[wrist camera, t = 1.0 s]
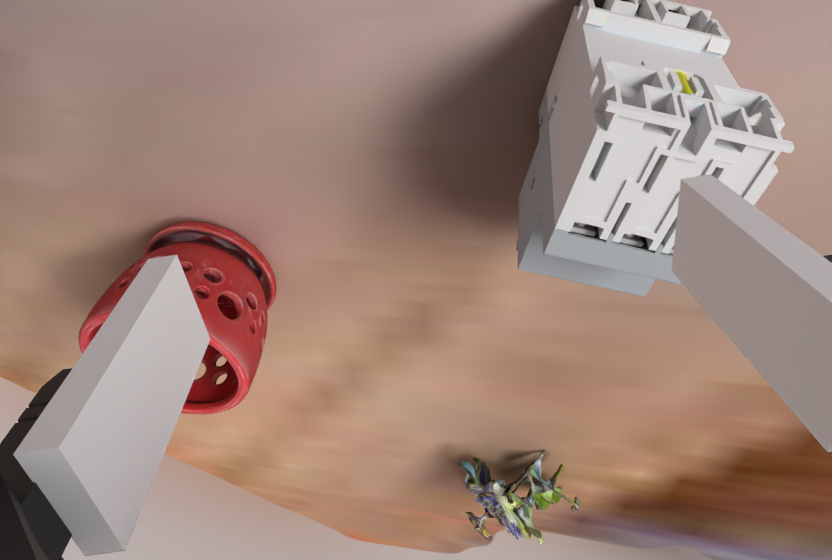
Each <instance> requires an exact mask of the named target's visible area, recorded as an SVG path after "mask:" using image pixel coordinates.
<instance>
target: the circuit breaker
mask: <svg viewBox="0 0 832 560" xmlns="http://www.w3.org/2000/svg"><path fill="white" fill-rule="evenodd" d="M639 4H640V7H639V10H638V12H636V11H637V9H638V6H639ZM668 9H669V10H674V11H678V13H673V12H669V10H668ZM711 14H712V12H711V11H710V10H706V9H701V8H697V7H693V6H688V5H684V4H680V3H675V2H671V1H667V0H629V2H626V1H621V0H605V2H604V5H603V8H598V7H595V4H594V0H581V3H580V6H576V5H575V6H574V9H573V12H572V15H571V18H570V21H569V24H568V27H567V30H566V33H565V36H564V38H563V41H562V44H561V47H560V50H559V53H558V56H557V59H556V62H555V65H554V68H553V70H552V73H551V76H550V79H549V82H548V85H547V88H546V91H545V94H544V97H543V100H542V102H541V105H540V108H539V125H541V127H540V129H539V142H538V144H537V147H536V150H535V153H534V156H533V158H532V161H531V164H530V167H529V170H528V172H527V175H526V178H525V181H524V184H523V186H522V189H521V192H520V195H519V221H518V241H517V250H518V269H519V270H524V271H528V272H533V273H537V274H542V275H546V276H551V277H555V278H560V279H565V280H569V281H574V282H578V283H583V284H587V285H592V286H596V287H601V288H606V289H610V290H615V291H619V292H624V293H628V294H633V295H637V296H642V297H645V295H646V293H647V292H648V290H649V289H650V287H651V286H652V284H653V282H654V281H655V279H658V280H663V281H667V282H672V283H676V284H681V285H683V284H682V283H681V282H680V280H679V279H678V278H677V277H676V276H675V275H674V273H673V272H672V271H671V270H672V261H673V251H674V241H675V231H676V221H677V212H678V202H679V192H680V182H681V179H683V178H689V177H696V176H703V175H709V174H711V175H712V176H714V177H715V178H717V179H718V180H719V181H721V182H722V183H723V184H725V185H726V186H727V187H729V188H730V189H732V190H733V191H734V192H736V193H737V194H738V195H740V196H741V197H742V198H744V199H745V200H747V201H748V202H749V203H751V204H752V205H753V206H754V205H755V203H756V202H757V200H758V199H759V197H760V196H761V195H762V193H763V192H764V190H765V189H766V188H767V186H768V185H769V183H770V182H771V181H772V179H773V178H774V176H775V175H776V173H777V172H778V169H777V167H776V166H775V164H774V161H775V160H776V158H777V157H778V155H779V154H780V152H781V151H783V152H787V153H791V152H792V151H793V149H794V145H793V143H792V142H791V141H787V140H783V139H782V136H781V134H780V131H781V129H782V128H783V126H784V125H785V123H784V121H783V118H782V116H781V115H780V113H779V112H778V110H777V109H776V107H775V106H774V104H773V103H772V101H771V100H770V98H769V97H768V95H767V94H766V93H761V92H757V91H753V90H748V89H744V88H740V87H739V86H738V84H737V83H736V81H735V79H734V78H733V76H732V74H731V73H730V71H729V70H728V68H727V66H726V65H725V63H724V61H723V60H722V56H723V55H725V54H726V51H727V49H728V46H729V44H730V41H731V40H730V39H729V37H728V36H727V34H726V33H725V31H724V30H723V28H722V27H721V26H720V24H719V23H718V21H717V20H714V19H710V16H711ZM690 16H691V17H690ZM687 24H688V25H687ZM686 26H687V27H686ZM761 114H762V116H763V117H762V118H761V120H760V121H759V123H758V125H757V126H754V125H755V123H756V122H757V120H758V119H759V117H760V115H761Z"/></svg>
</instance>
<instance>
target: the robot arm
mask: <svg viewBox="0 0 832 560" xmlns="http://www.w3.org/2000/svg"><path fill="white" fill-rule="evenodd" d="M671 271H672V272H673V273H674V275H675V276H676V277H677V278H678V279H679V280H680V282H681V283H682V284H683V285H684V286H685V287H686V288H687V290H688V291H689V292H690V293H691V294H692V295H693V297H694V298H695V299H696V300H697V301H698V302H699V304H700V305H701V306H702V307H703V308H704V309H705V310H706V312H707V313H708V314H709V315H710V316H711V317H712V319H713V320H714V321H715V322H716V323H717V324H718V326H719V327H720V328H721V329H722V330H723V331H724V333H725V334H726V335H727V336H728V337H729V338H730V339H731V341H732V342H733V343H734V344H735V345H736V346H737V348H738V349H739V350H740V351H741V352H742V353H743V355H744V356H745V357H746V358H747V359H748V360H749V361H750V363H751V364H752V365H753V366H754V367H755V368H756V370H757V371H758V372H759V373H760V374H761V375H762V377H763V378H764V379H765V380H766V381H767V382H768V383H769V385H770V386H771V387H772V388H773V389H774V390H775V392H776V393H777V394H778V395H779V396H780V397H781V399H782V400H783V401H784V402H785V403H786V404H787V406H788V407H789V408H790V409H791V410H792V411H793V412H794V414H795V415H796V416H797V417H798V418H799V419H800V421H801V422H802V423H803V424H804V425H805V426H806V428H807V429H808V430H809V431H810V432H811V433H812V434H813V436H814V437H815V438H816V439H817V440H818V441H819V443H820V444H821V445H822V446H823V447H824V448H825V450H826V451H827V452H832V255H828V256H822V255H820V254H819V253H817V252H816V251H815V250H813V249H812V248H811V247H809V246H808V245H807V244H805V243H804V242H802V241H801V240H800V239H798V238H797V237H796V236H794V235H793V234H792V233H790V232H789V231H787V230H786V229H785V228H783V227H782V226H781V225H779V224H778V223H777V222H775V221H774V220H772V219H771V218H770V217H768V216H767V215H766V214H764V213H763V212H762V211H760V210H759V209H757V208H756V207H755V206H753V205H752V204H751V203H749V202H748V201H747V200H745V199H744V198H742V197H741V196H740V195H738V194H737V193H736V192H734V191H733V190H732V189H730V188H729V187H727V186H726V185H725V184H723V183H722V182H721V181H719V180H718V179H717V178H715V177H714V176H712V175H711V174H709V175H703V176H696V177H689V178H683V179H681V182H680V192H679V202H678V212H677V221H676V231H675V241H674V251H673V261H672V270H671ZM209 341H210V337H209V334H208V331H207V329H206V326H205V324H204V321H203V319H202V316H201V314H200V311H199V309H198V306H197V304H196V301H195V299H194V296H193V294H192V291H191V289H190V286H189V284H188V281H187V279H186V276H185V274H184V271H183V269H182V266H181V264H180V261H179V259H178V256H177V255H172V256H165V257H158V258H152V259H148V260H147V261H146V263H145V264H144V266H143V267H142V269H141V270H140V271H139V273H138V274H137V276H136V277H135V279H134V280H133V282H132V283H131V285H130V286H129V287H128V289H127V290H126V292H125V293H124V295H123V296H122V298H121V299H120V300H119V302H118V303H117V305H116V306H115V308H114V309H113V311H112V312H111V313H110V315H109V316H108V318H107V319H106V321H105V322H104V324H103V325H102V326H101V328H100V329H99V331H98V332H97V334H96V335H95V337H94V338H93V340H92V341H91V342H90V344H89V345H88V347H87V348H86V350H85V351H84V353H83V354H82V355H81V357H80V358H79V360H78V361H77V363H76V364H75V366H74V367H73V368H71V369H64V370H62V371H60V372H59V373H58V374H57V375H56V376H54V377H53V378H52V379H51V380H50V381H48V382H47V383H46V384H45V385H43V386H42V387H41V389H40V390H39V391H38V393H37V394H36V396H35V397H34V398H33V400H32V401H31V402H30V404H29V408H26V409H25V411H24V412H23V413H22V415H21V416H20V418H19V419H18V423H15V424H14V426H13V427H12V428H11V430H10V431H9V433H8V434H7V435H6V437H5V438H4V439H3V441H2V442H1V444H0V560H64V559H63V558H62V554H63V552H64V550H65V548H66V546H67V544H68V542H69V540H70V538H71V537H72V539H73V540H74V541H75V543H76V544H77V546H78V547H79V548H80V550H81V551H82V553H83V554H84V555H85V556H90V555H98V554H105V553H112V552H119V551H125V549H126V546H127V544H128V542H129V539H130V537H131V534H132V532H133V529H134V527H135V525H136V522H137V520H138V517H139V515H140V512H141V509H142V507H143V504H144V502H145V500H146V497H147V495H148V492H149V490H150V487H151V485H152V482H153V480H154V477H155V475H156V472H157V470H158V468H159V465H160V463H161V460H162V458H163V455H164V453H165V450H166V448H167V445H168V443H169V440H170V438H171V435H172V433H173V430H174V428H175V426H176V423H177V421H178V418H179V416H180V413H181V411H182V408H183V406H184V403H185V401H186V398H187V396H188V393H189V391H190V388H191V386H192V383H193V381H194V379H195V376H196V374H197V371H198V369H199V366H200V364H201V361H202V359H203V356H204V354H205V351H206V349H207V346H208V344H209Z"/></svg>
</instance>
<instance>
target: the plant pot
mask: <svg viewBox="0 0 832 560" xmlns="http://www.w3.org/2000/svg"><path fill="white" fill-rule="evenodd" d="M172 255H177V256H178V259H179V261H180V264H181V266H182V269H183V271H184V274H185V276H186V279H187V281H188V284H189V286H190V289H191V291H192V294H193V296H194V299H195V301H196V304H197V306H198V309H199V311H200V314H201V316H202V319H203V321H204V324H205V326H206V329H207V331H208V334H209V337H210V341H209V344H208V346H207V349H206V351H205V354H204V356H203V359H202V361H201V362H202V363H204V364H205V366H206V372H205V374H204V375H203V376H202V377H201V378H199V379H197V380H194V381H193V383H192V386H191V388H190V391H189V393H188V396H187V398H186V401H185V403H184V406H183V408H182V411H181V413H185V414H213V413H218V412H222V411H225V410H228V409H231V408H233V407H235V406H236V405H238V404H239V403H240V402H241V401H242V400H243V399H244V398H245V396H246V395H247V393H248V391H249V388H250V386H251V383H252V381H253V379H254V376H255V373H256V371H257V368H258V365H259V362H260V358H261V355H262V351H263V347H264V343H265V338H266V331H267V310H268V309H269V308H270V307H271V305H272V303H273V301H274V299H275V295H276V280H275V276H274V273H273V271H272V268H271V266H270V264H269V263H268V261H267V260H266V258H265V257H264V256H263V254H262V253H261V252H260V251H259V250H258V249H257V248H256V247H255V246H254V245H252V244H251V243H250V242H249V241H247V240H246V239H244V238H243V237H241V236H240V235H238V234H236V233H234V232H232V231H230V230H228V229H225V228H223V227H220V226H216V225H212V224H207V223H201V222H182V223H177V224H173V225H171V226H168V227H166V228H164V229H162V230H160V231H159V232H157V233H156V234H155V235H154V236H153V237H152V238H151V239H150V240H149V242H148V244H147V246H146V249H145V252H144V257H142V258H141V259H139V260H138V261H136V262H135V263H134V264H132V265H131V266H130V267H129V268H127V269H126V270H125V271H124V272H123V273H122V274H121V275H120V276H119V277H118V278H117V279H116V280H115V281H114V282H113V284H112V285H111V286H110V287H109V288H108V289H107V291H106V292H105V293H104V294H103V295H102V297H101V298H100V299H99V301H98V302H97V303H96V305H95V306H94V307H93V309H92V310H91V312H90V313H89V315H88V316H87V318H86V320H85V321H84V323H83V325H82V327H81V329H80V331H79V345H80V349H81V352H82V354H83V353H84V351H85V350H86V348H87V347H88V345H89V344H90V342H91V341H92V340H93V338H94V337H95V335H96V334H97V332H98V331H99V329H100V328H101V326H102V325H103V324H104V322H105V321H106V319H107V318H108V316H109V315H110V313H111V312H112V311H113V309H114V308H115V306H116V305H117V303H118V302H119V300H120V299H121V298H122V296H123V295H124V293H125V292H126V290H127V289H128V287H129V286H130V285H131V283H132V282H133V280H134V279H135V277H136V276H137V274H138V273H139V271H140V270H141V269H142V267H143V266H144V264H145V263H146V261H147V260H148V259H152V258H158V257H165V256H172ZM221 356H224V357H225V358H226V359H227V361H226V363H225V364H224V365H223V366H216V362H217V360H218V359H219V358H220V357H221ZM223 374H227V378H226V379H225V381H224V382H222V383H221V384H218V385H216V381H217V379H218V378H219V377H220V376H221V375H223Z"/></svg>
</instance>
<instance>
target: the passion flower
mask: <svg viewBox="0 0 832 560" xmlns="http://www.w3.org/2000/svg"><path fill="white" fill-rule="evenodd" d="M545 452H546V450H544V451H543V452H542V453H541V454H540V456H539V458H538V459H537V460H536V461H533V462H532V463H531V465H529V466H527V468H526V469H525V473H524V474H522V476H521V477H520V478H519V479H518V480H517V481H516V482H514V483H511V484H509V485H506V484H505V482H504V480H503V479H501V480H500V481H499V480H491V477H490V471H489V468H488V466H487V465H486V463H485V462H482V461H481V460H480V459H479V458H475V457H474V458H473V461H474V463H475V464H476V469H475V470H474V467H473V465H472V464H471V463H469V462H468V461H466V460H462V461H461V462H460V464H459V466H460V467H461V468H462V469H463V470H464V471H465V472H466V473H467V476H466V478H465V480H464V482H465V484H466V487H467V488H468V489H469V490H470V491H472V492H473V493H474V495H476V496H477V498H478V499H477V500H476V501H477V502H480V503H481V505H482V506H484V507H485V511H486V512H485V514H484V516H483V517H481V518H478V517H476V516H474V514H473V513H471V512H465V514H467V515H468V517H469V520H470V521H471V523H472V524H473V525H474V528H475V529H476V530H477V531H478V532H480V533H481V535H482V536H483V537H485V538H486V539H488V540H489V541H491V540H492V537H491V535H490V534H489V532H488V531H487V529H486V528H485V526H484V522H485V520H486V519H487V518H496V519H497V520H498V521H499V523H500V524H501V525H502V526H503V527H504V528H505V529H507V531H508V532H510V533H512V534H513V535H515V537H516V539H518V534H519V536H521V537H524V538H525V539H530V538H531V534H533V535H534V536H536V537H537V538H538V539H539V543H540V544H541V543H542V535H541V533H540V531H538V530H537V529H536V528H535V527H534V525H533V523H532V521H531V515H532V507H534V504H535V505H536V508H537V510H538V509H541V510H546V509H547V508H548V506H549V504H550V503H551V504H556V503H558V502H559V501H560V497H562V498H564V499H565V500H567V501H568V502H569V503H571V504H573V506H572V507H571V510H572V511H574V512H577V511H578V507H579V503H580V501H579V499H578V497H575V501H574V502H573V501H571V500H570V499H568V498H566V497H565V496H564V495H563V494H561V489H562V487H561V486H559V487H558V488H554V485H555V482H556V480H557V478H558V477H559V476H560V474H561V472H562V471H563V464H561V465H560V467H559V468H558V470H557V472H556V473H555V474H554V475H553V477H552V478H550V479H549V480H548V481H544V480H543V479H542V477H541V470H542V468H541V462H542V458H543V455H544V453H545ZM532 476H533V477H535V478H536V479H538V480H539V481H540V482H541V483H542V484H543V485H542V486H541V485H540V483H537V484H536V485H535V484H534V483H533V481H532ZM523 478H524V479H523ZM522 479H523V480H522ZM521 480H522V481H521ZM520 481H521V482H520ZM519 482H520V484H519V486H518V487H517V488H516V489H515V490H513V491H512V492H511V489H512V488H514V487H515V485H517V484H518V483H519ZM525 482H529V483H530V485H531V488H530V490H529V492H528V495H527V497H522V498H520V497H519V496H517V495H516V494H515V491H516V490H517V489H518V488H519V487H520V486H521V485H522V484H523V483H525ZM517 505H521V506H520V507H519V508H515V507H517Z"/></svg>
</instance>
